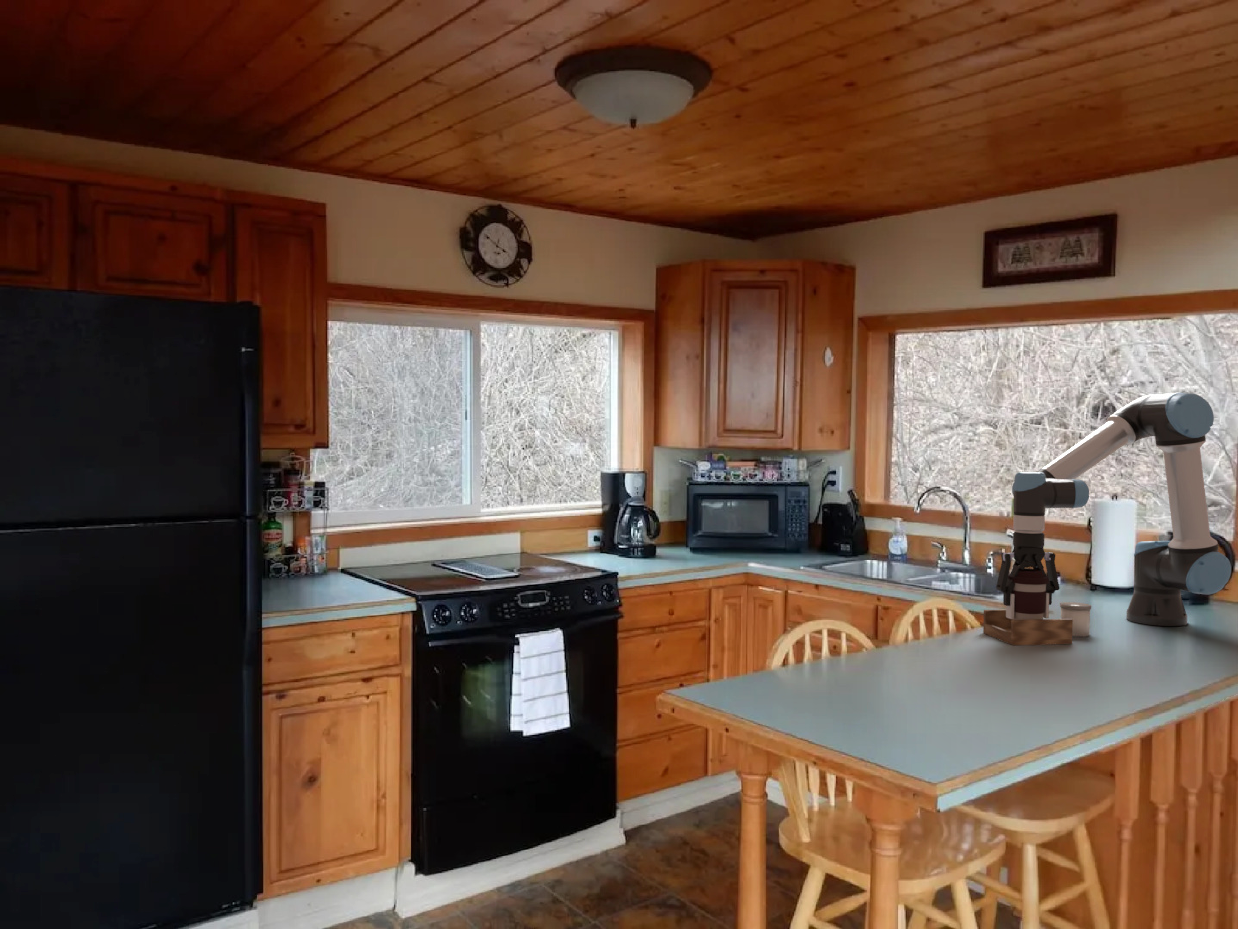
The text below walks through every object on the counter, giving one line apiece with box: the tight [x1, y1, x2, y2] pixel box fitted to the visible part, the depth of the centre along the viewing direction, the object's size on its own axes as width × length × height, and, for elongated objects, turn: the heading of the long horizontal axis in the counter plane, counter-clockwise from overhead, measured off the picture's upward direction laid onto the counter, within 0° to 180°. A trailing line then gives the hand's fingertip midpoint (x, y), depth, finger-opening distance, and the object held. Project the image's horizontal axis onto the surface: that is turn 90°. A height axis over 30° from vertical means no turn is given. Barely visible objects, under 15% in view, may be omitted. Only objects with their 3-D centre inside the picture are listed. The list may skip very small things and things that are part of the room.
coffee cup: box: [1008, 567, 1049, 620], centre depth 253 cm, size 10×10×15 cm
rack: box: [982, 608, 1073, 646], centre depth 253 cm, size 16×15×6 cm
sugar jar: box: [1059, 601, 1092, 637], centre depth 259 cm, size 8×8×8 cm
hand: (1027, 617), depth 253 cm, fingers closed on coffee cup, 9 cm apart
